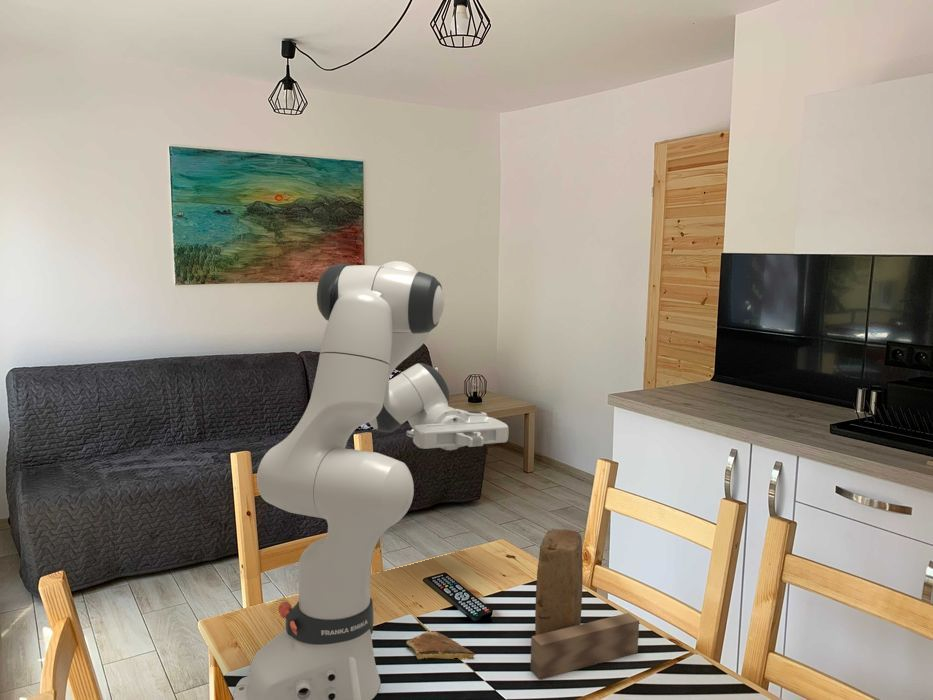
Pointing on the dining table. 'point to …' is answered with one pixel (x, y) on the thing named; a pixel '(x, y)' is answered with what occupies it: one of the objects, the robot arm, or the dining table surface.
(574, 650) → the board
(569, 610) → the weathered terracotta carving
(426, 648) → the brown flat angular piece
